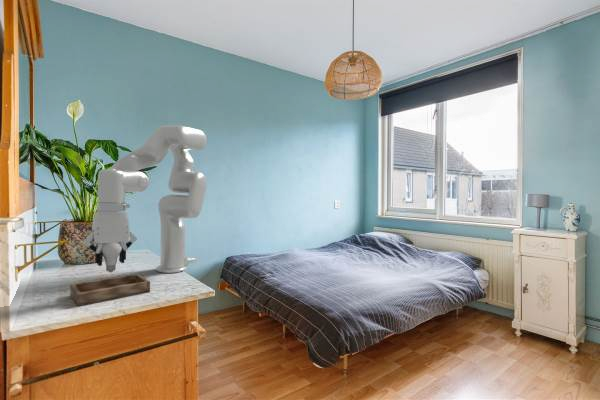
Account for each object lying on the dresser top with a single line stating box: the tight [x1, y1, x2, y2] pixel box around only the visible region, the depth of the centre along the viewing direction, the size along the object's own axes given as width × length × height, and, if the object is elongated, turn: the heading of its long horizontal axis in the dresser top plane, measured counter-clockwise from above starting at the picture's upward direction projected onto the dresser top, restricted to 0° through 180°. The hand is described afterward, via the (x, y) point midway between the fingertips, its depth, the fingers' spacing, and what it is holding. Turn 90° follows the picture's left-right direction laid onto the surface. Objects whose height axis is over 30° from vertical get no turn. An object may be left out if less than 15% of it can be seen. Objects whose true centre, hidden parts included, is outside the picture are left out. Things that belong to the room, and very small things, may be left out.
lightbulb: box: [101, 242, 122, 273], centre depth 102 cm, size 6×6×11 cm
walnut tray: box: [69, 273, 151, 307], centre depth 102 cm, size 20×12×4 cm, turn 134°
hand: (110, 263), depth 102 cm, fingers closed on lightbulb, 5 cm apart
